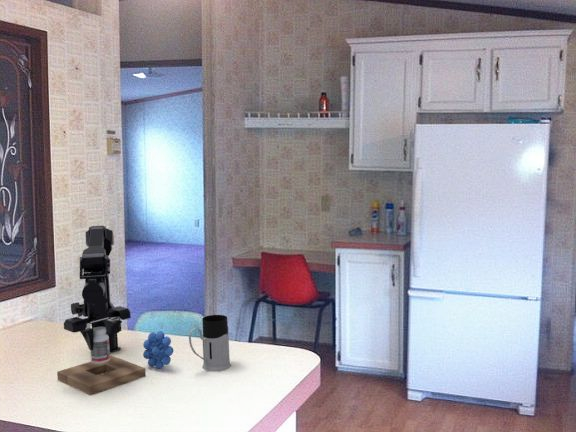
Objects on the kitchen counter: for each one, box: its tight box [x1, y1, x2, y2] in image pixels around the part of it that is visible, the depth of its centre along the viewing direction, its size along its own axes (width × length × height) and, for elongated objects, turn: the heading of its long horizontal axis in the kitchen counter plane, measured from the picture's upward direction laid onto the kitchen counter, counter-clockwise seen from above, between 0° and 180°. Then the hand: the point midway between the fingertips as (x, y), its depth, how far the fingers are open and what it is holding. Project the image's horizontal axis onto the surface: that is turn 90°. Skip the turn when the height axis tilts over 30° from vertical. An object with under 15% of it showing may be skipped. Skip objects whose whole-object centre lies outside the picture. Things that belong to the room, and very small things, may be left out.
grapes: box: [142, 330, 174, 370], centre depth 198 cm, size 12×7×12 cm, turn 58°
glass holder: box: [188, 314, 232, 372], centre depth 196 cm, size 9×14×15 cm, turn 137°
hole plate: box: [56, 354, 147, 396], centre depth 192 cm, size 18×18×2 cm
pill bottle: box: [90, 327, 111, 364], centre depth 191 cm, size 5×5×10 cm
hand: (99, 347), depth 191 cm, fingers closed on pill bottle, 5 cm apart
